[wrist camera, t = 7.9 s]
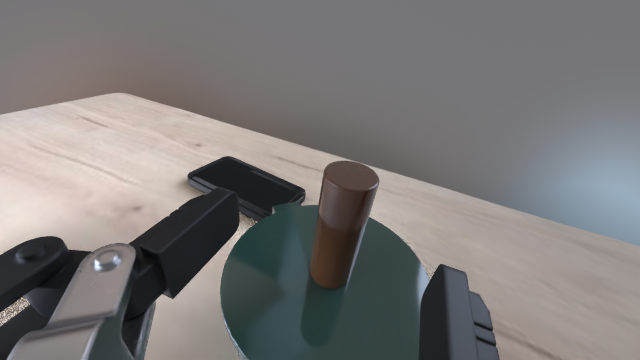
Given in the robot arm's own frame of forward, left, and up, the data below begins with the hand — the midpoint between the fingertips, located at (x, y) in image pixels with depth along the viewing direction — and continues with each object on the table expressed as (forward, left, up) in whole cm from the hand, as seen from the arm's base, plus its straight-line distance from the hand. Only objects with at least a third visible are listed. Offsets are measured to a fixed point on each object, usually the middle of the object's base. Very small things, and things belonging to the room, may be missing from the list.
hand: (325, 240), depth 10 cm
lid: (-2, -2, -6) cm, 7 cm away
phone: (-1, -23, -14) cm, 27 cm away
